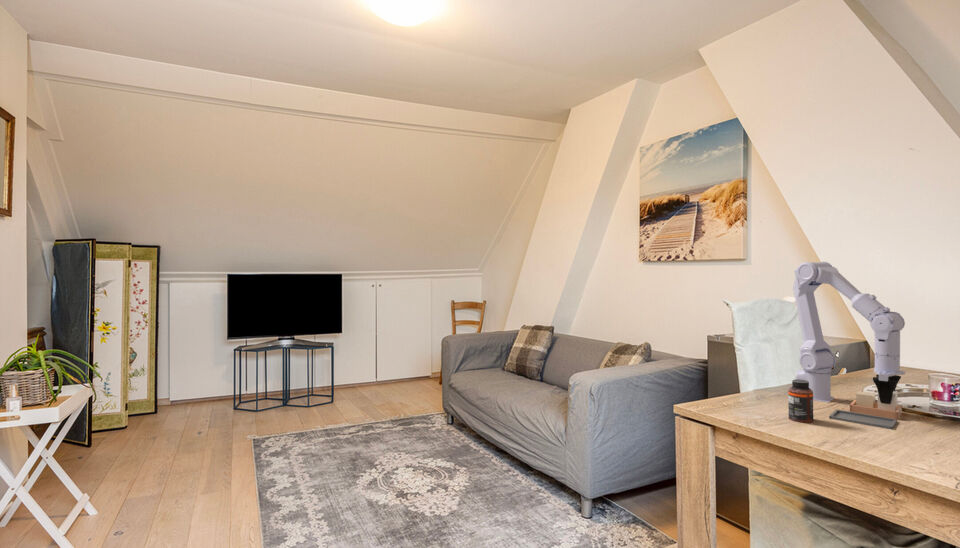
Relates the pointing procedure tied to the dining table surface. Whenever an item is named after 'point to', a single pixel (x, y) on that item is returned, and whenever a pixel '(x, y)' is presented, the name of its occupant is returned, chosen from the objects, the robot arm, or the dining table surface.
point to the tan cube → (865, 399)
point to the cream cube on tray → (891, 406)
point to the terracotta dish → (876, 411)
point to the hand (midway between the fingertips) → (886, 401)
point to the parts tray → (863, 419)
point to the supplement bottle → (800, 402)
